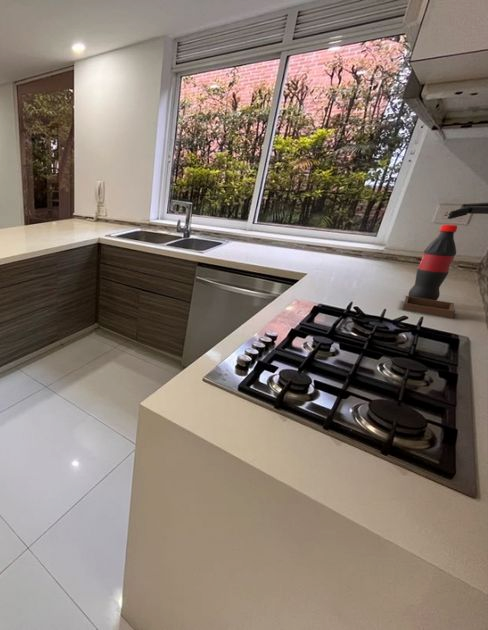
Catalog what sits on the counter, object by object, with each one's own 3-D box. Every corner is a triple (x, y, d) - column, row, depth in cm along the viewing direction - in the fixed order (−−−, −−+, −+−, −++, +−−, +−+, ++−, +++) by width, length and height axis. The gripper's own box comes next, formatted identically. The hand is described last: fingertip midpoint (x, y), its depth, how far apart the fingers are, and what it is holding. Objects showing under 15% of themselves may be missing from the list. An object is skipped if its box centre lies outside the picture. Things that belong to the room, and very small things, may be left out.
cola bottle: (435, 301, 135) (466, 224, 124) (436, 306, 129) (468, 226, 119) (406, 297, 141) (433, 223, 130) (406, 302, 135) (434, 224, 124)
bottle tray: (450, 321, 115) (455, 311, 114) (400, 312, 124) (404, 303, 123) (450, 312, 124) (453, 303, 122) (403, 304, 132) (406, 295, 131)
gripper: (569, 229, 111) (506, 245, 112) (483, 206, 132) (430, 219, 132) (585, 207, 107) (519, 224, 107) (494, 186, 127) (439, 200, 127)
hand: (470, 221), depth 119 cm, fingers open, 13 cm apart
